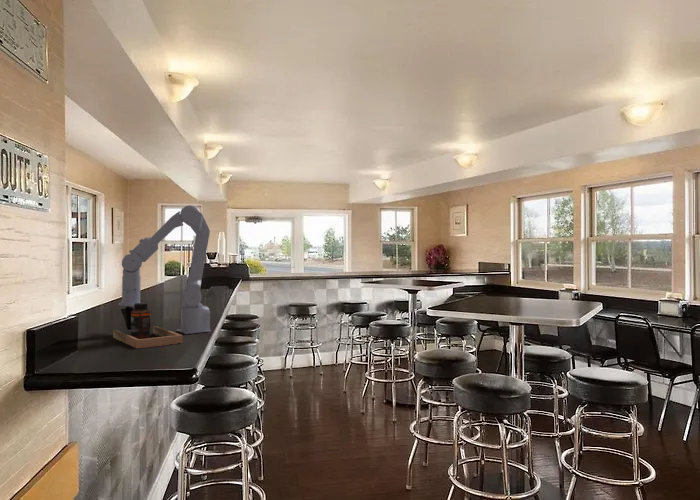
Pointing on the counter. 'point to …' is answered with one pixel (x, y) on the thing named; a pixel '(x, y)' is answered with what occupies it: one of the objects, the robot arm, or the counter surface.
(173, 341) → the bay
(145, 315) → the supplement bottle
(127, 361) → the counter surface
